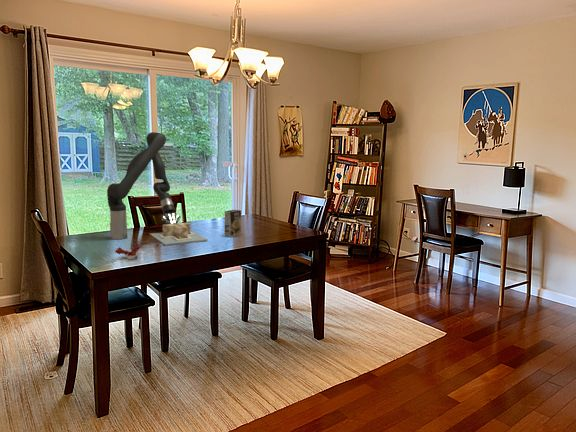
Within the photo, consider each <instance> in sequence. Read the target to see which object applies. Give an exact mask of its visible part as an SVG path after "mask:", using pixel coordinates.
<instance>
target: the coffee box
mask: <svg viewBox="0 0 576 432" xmlns="http://www.w3.org/2000/svg"><path fill="white" fill-rule="evenodd" d="M224 236H225V237H229V238H235V237H238V236H242V210H240V209H231V210H230V209H229V210H225V211H224Z"/></svg>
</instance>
